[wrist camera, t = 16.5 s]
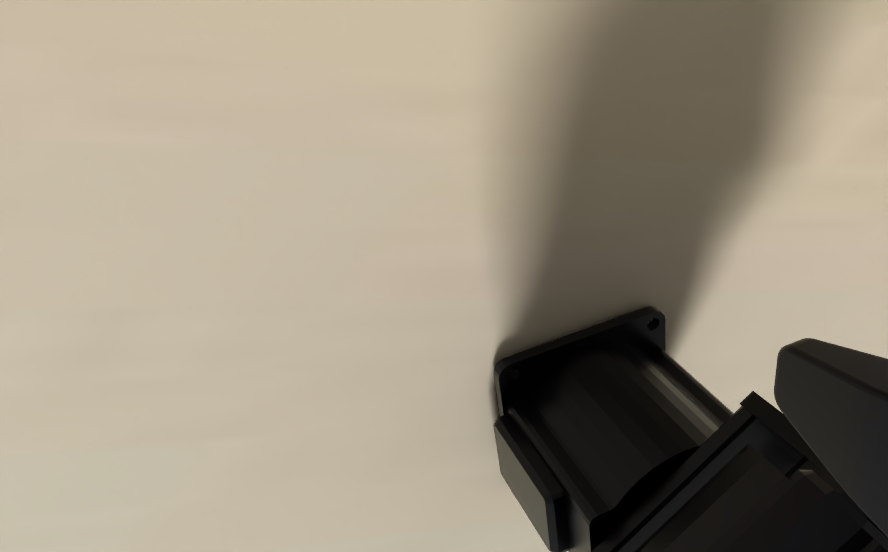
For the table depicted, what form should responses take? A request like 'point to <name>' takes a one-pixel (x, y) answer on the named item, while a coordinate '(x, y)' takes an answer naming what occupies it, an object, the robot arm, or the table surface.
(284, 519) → the table surface
